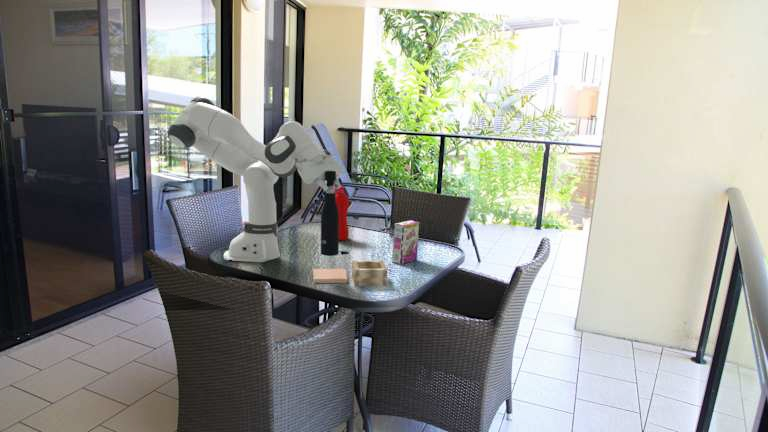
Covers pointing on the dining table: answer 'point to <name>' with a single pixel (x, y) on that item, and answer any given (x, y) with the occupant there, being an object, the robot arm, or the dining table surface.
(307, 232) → the dining table surface
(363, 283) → the bottle collar
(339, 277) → the terracotta tile
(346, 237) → the water bottle
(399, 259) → the candy bar box
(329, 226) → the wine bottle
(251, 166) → the robot arm
